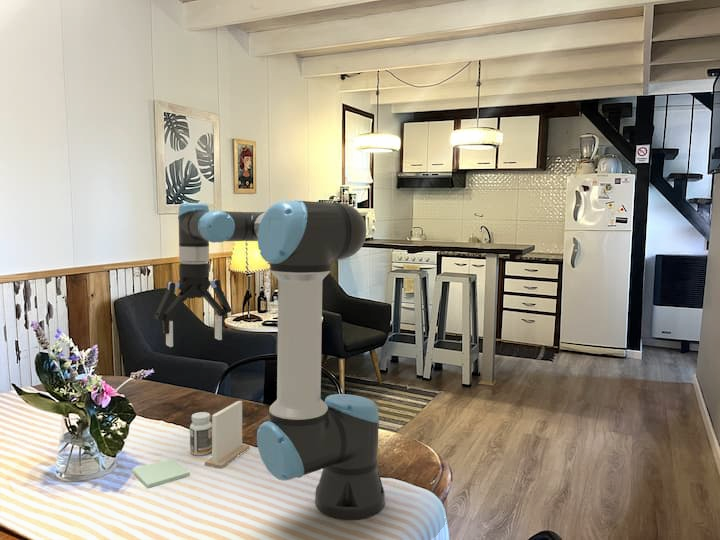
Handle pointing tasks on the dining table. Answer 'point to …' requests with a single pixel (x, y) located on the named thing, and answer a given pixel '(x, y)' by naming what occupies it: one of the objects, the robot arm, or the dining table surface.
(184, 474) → the coaster
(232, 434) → the screen
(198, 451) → the pill bottle
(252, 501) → the dining table surface
